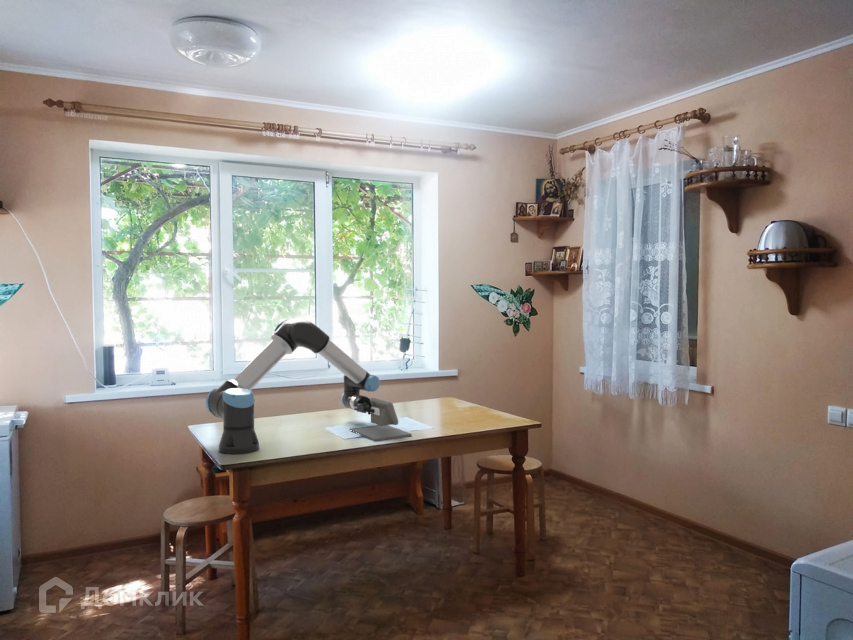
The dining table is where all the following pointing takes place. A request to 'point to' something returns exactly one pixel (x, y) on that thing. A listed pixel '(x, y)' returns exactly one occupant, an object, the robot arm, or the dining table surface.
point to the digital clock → (383, 412)
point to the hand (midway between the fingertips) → (384, 411)
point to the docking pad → (380, 432)
